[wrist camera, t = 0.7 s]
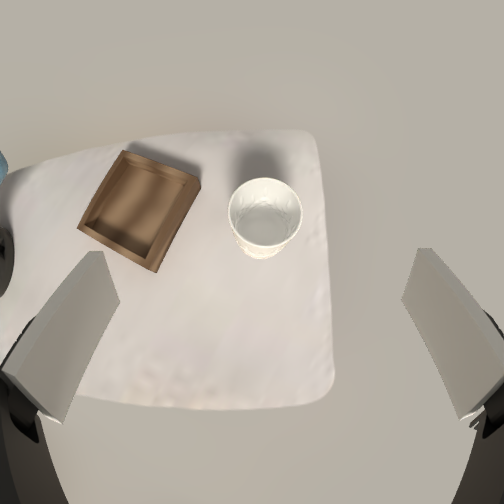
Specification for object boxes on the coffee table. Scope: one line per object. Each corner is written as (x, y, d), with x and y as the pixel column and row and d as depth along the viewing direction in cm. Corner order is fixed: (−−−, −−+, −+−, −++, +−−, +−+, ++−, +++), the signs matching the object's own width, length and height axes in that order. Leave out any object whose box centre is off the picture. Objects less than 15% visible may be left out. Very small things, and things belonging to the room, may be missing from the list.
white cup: (289, 211, 39) (303, 180, 29) (287, 265, 37) (301, 250, 27) (235, 207, 39) (231, 174, 29) (229, 261, 37) (223, 244, 27)
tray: (88, 234, 38) (76, 228, 34) (130, 160, 40) (122, 149, 37) (156, 273, 37) (148, 269, 33) (201, 188, 39) (197, 177, 36)
